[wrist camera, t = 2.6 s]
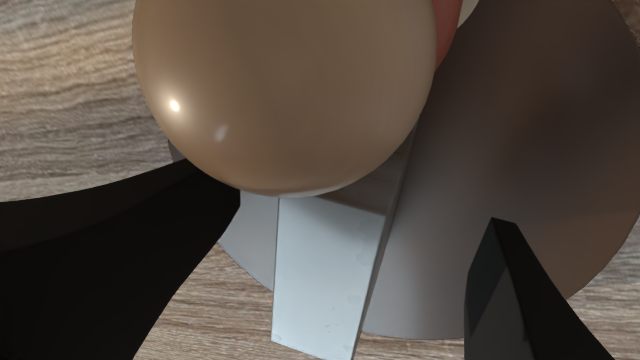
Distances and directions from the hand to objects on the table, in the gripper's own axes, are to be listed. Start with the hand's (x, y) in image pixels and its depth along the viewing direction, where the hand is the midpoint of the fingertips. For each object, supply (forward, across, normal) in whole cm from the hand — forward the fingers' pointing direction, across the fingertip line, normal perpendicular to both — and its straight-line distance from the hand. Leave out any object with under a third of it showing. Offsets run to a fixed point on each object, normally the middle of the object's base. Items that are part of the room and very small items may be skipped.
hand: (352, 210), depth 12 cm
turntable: (+3, 0, 0) cm, 3 cm away
